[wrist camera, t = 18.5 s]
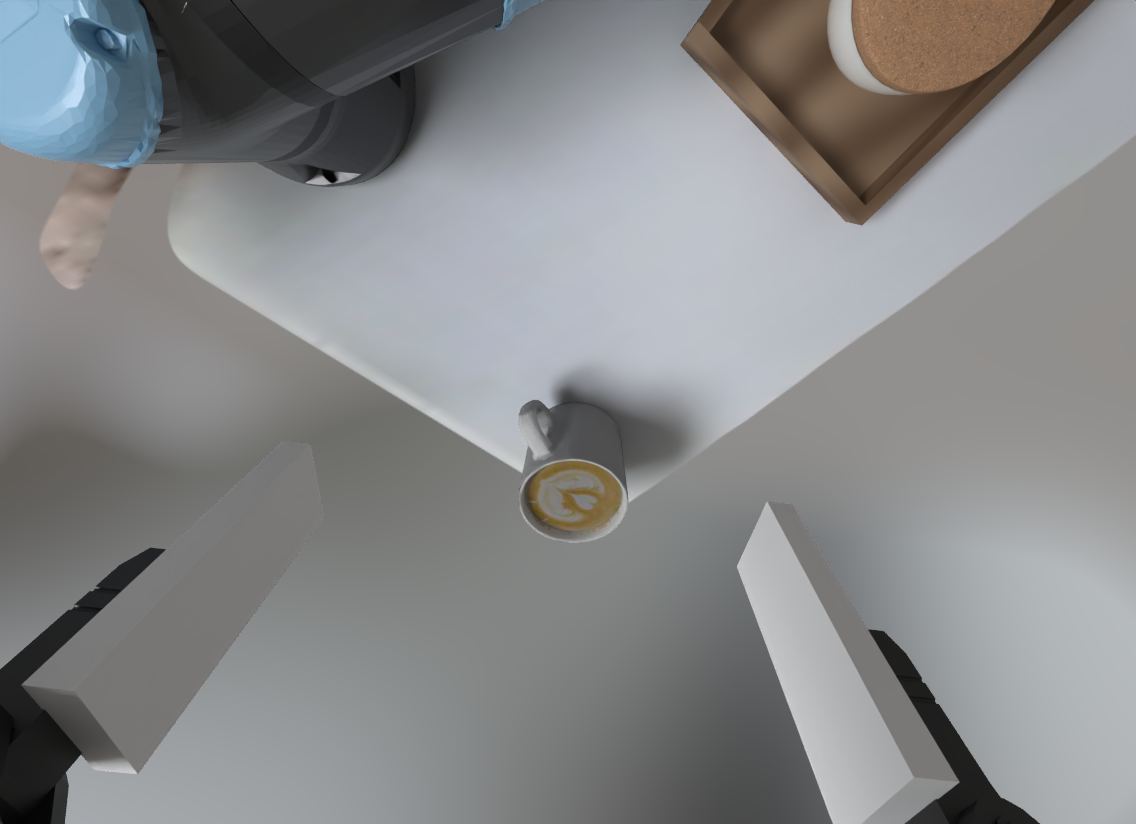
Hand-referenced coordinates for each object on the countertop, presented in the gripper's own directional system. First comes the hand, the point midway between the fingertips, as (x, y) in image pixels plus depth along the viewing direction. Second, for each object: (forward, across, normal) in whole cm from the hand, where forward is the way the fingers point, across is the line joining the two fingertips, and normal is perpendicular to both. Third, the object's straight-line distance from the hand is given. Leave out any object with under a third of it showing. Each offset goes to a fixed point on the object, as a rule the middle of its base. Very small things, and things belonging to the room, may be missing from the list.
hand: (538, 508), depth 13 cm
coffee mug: (+31, +2, -16) cm, 35 cm away
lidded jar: (+30, +19, +20) cm, 41 cm away
